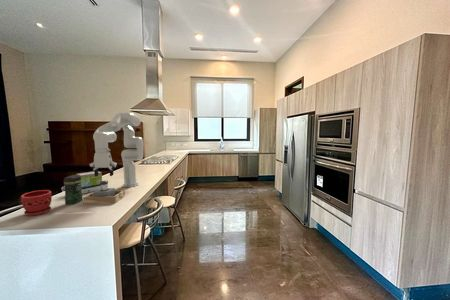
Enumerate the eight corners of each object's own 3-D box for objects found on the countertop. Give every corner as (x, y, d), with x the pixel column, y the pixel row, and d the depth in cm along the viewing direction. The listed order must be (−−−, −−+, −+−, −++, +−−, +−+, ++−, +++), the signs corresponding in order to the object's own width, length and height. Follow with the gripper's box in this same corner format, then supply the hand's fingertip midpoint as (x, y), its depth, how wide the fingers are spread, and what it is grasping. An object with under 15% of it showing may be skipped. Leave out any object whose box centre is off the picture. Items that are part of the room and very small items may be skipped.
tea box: (81, 194, 155) (80, 175, 154) (77, 192, 161) (75, 173, 160) (103, 189, 167) (101, 171, 166) (97, 187, 173) (96, 170, 172)
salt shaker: (103, 194, 142) (102, 180, 141) (110, 194, 142) (109, 180, 141) (99, 196, 137) (98, 182, 136) (106, 196, 137) (105, 182, 136)
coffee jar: (75, 205, 132) (73, 177, 130) (62, 205, 132) (60, 177, 130) (85, 200, 142) (83, 173, 140) (73, 200, 141) (71, 174, 140)
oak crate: (96, 198, 146) (95, 191, 146) (124, 197, 147) (124, 190, 147) (83, 205, 132) (83, 197, 132) (115, 204, 133) (115, 196, 133)
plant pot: (16, 217, 115) (14, 196, 114) (40, 208, 128) (38, 189, 127) (36, 218, 113) (34, 197, 112) (58, 209, 126) (57, 190, 125)
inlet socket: (102, 198, 144) (101, 188, 143) (115, 197, 144) (114, 188, 144) (94, 202, 135) (93, 192, 134) (108, 202, 136) (108, 191, 135)
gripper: (117, 149, 141) (119, 174, 143) (91, 150, 140) (94, 174, 142) (112, 151, 133) (114, 177, 136) (85, 151, 133) (87, 177, 135)
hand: (104, 175), depth 139 cm, fingers open, 9 cm apart
